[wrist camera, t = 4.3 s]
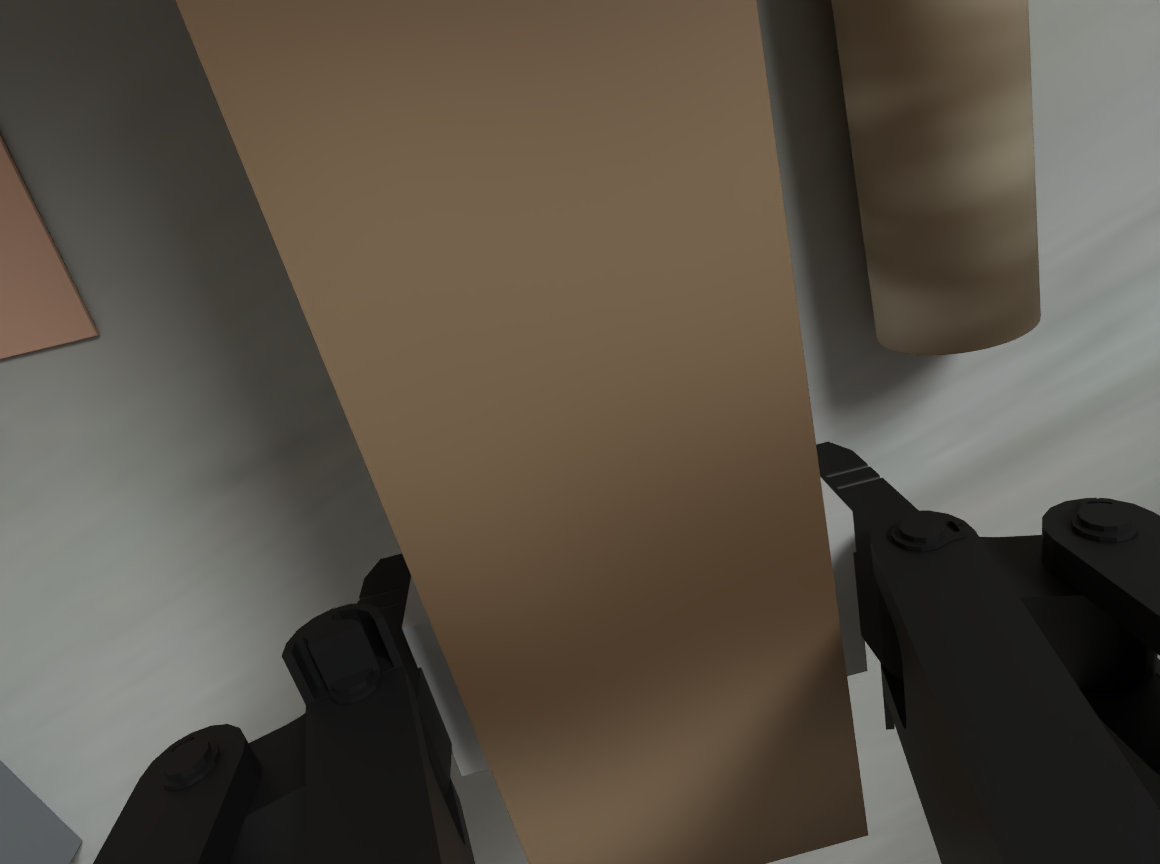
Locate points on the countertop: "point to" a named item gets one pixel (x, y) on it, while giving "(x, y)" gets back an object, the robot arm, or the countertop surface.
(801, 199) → the countertop surface
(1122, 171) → the countertop surface
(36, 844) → the tee stick
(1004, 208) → the dowel
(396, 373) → the natural wood brick
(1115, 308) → the countertop surface
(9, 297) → the runner
